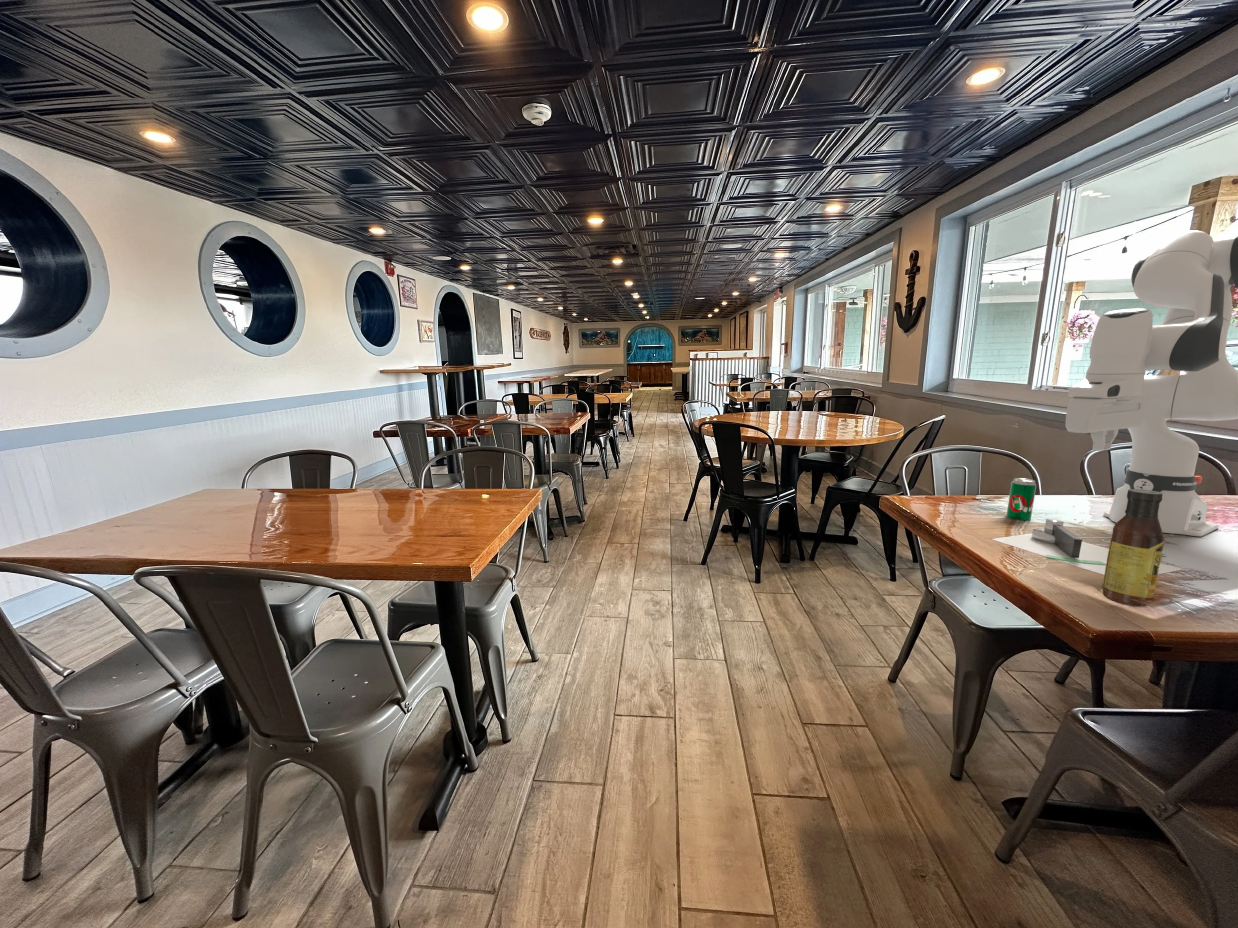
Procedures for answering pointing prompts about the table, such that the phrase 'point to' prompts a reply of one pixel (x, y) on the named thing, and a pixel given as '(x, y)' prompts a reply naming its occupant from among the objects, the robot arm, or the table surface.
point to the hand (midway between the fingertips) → (1101, 449)
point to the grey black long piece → (1059, 537)
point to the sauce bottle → (1135, 550)
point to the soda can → (1021, 499)
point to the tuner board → (1088, 557)
